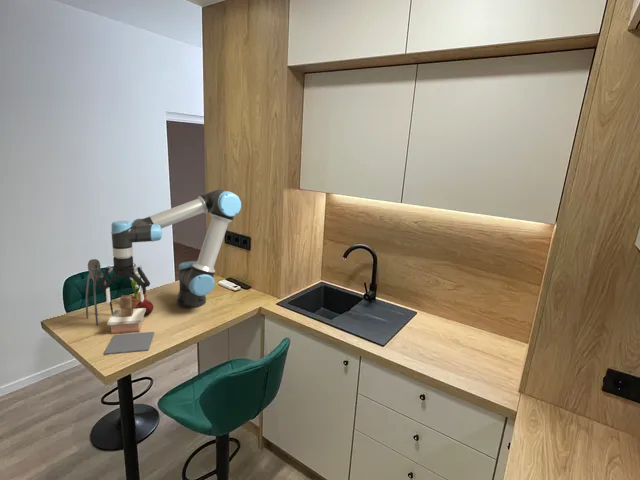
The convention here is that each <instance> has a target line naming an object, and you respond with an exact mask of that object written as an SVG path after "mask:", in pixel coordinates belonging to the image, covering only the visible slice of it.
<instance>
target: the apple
mask: <svg viewBox="0 0 640 480" xmlns="http://www.w3.org/2000/svg"><path fill="white" fill-rule="evenodd" d="M147 300H148V299H147ZM147 300H143V302H141V301H140V302H139V303H138V304H137V306H136V309H138V308H146V311H145V314H144V317H147V316H149V315H151V314H152V313H153V311H154V305H153V303H152V302H151V301H150V300H148V301H147Z"/></svg>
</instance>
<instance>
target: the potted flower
mask: <svg viewBox="0 0 640 480" xmlns="http://www.w3.org/2000/svg"><path fill="white" fill-rule="evenodd" d="M133 266H134V267H138V266H137V265H136V263H135V261H133ZM133 272H134V273H135V275H136V276H137V277H139V278H140V279H141V280H142V278H141V276H140V275H139V273H138V272H137V271H136V270H134V271H133ZM129 280H130V281H131V283H130V285H131V287H132V290H133V294H131V295H132V301H133V309H136V306H137V304H138V303H139V302H140V301H141V292H140V293H139V291H140V290H139V289H140V288H141V286H140V285H139V284H138V283H137V282H136V281H135V280H134V279H133V278H131V277H130V276H129ZM144 300H147V301H149V300H148V298H147V294H146V293H145V294H144Z"/></svg>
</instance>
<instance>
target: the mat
mask: <svg viewBox="0 0 640 480" xmlns="http://www.w3.org/2000/svg"><path fill="white" fill-rule="evenodd" d="M154 335H155V331H146V332H133V333H121V334H113V335H112V338H111V340H110V342H109V344H108V345H107V347H106V349H105V351H104V353H103V355H104V356H105V355H106V356H107V355H116V354H117V355H118V354H126V353H137V352H148V351H147V350H150V347H151V344H152V342H153V338H154Z"/></svg>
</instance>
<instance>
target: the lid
mask: <svg viewBox="0 0 640 480" xmlns="http://www.w3.org/2000/svg"><path fill="white" fill-rule="evenodd" d="M132 295H133V294H121V296H120V298H119V302H120V309H114V310H113V314H111V316H110V318H109V319H108V321H107V324H106V325H107V326H111V325H116V324H130V323H141V321H142V318H143V316H144V314H145V311H146V308H138V309H133V301H132ZM144 317H145V316H144Z"/></svg>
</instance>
